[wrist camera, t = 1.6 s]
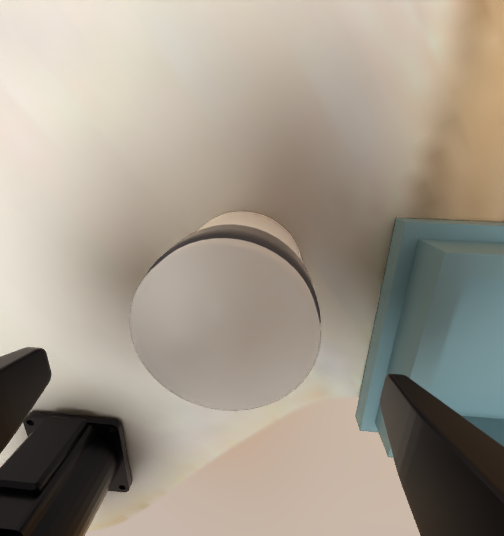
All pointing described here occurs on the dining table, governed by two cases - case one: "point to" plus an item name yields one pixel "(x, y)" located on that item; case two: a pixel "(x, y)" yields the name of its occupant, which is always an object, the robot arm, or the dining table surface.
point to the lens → (228, 315)
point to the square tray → (441, 321)
